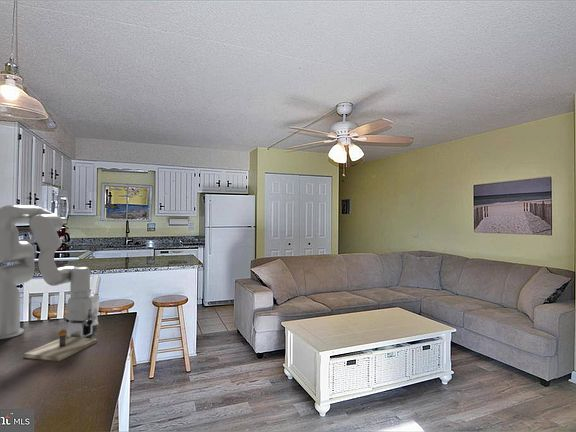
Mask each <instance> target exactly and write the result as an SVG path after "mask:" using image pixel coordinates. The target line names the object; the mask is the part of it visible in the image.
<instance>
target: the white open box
mask: <svg viewBox="0 0 576 432" xmlns="http://www.w3.org/2000/svg"><path fill="white" fill-rule="evenodd" d="M87 322H88V320H87ZM84 326H85V324H84V321H70V322H66V336H67V337H80V338H87V337H90V336H91V335H93V334H94V331H93V329H94V328H93V327H94V326H93V323H92V324H91V333H90V334H87V335H84Z"/></svg>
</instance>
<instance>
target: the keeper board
mask: <svg viewBox="0 0 576 432" xmlns="http://www.w3.org/2000/svg"><path fill="white" fill-rule="evenodd" d="M58 336H59V338H58V339H55V340H52V341H50V342H48V343H46V344H44V345H42V346H39V347H36V348H33V349H32V350H29V351H27V352H25V353H23V358H24V359H25V358H26V359H35V360H36V359H37V360H46V361H55V362H60V361H62V360H64V359H66V358H69V357H70V356H72V355H75V354H76V353H78V352H80V351H83V350H84V349H86V348H89V347H91V346H92V345H95V344H97V342H98V338H91V337H90V338H89V337H88V338H87V337H85V338H80V337H67V330H65V329H61V330H59V331H58Z"/></svg>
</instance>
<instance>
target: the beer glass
mask: <svg viewBox="0 0 576 432" xmlns="http://www.w3.org/2000/svg"><path fill="white" fill-rule="evenodd" d="M90 297H91V301H92V313H93V314H94V315H95V316H96V317H97V318H96V319H95V320H94V322H93V327H95V326H98V325H99V321H98V320H99V319H98V315H99V309H100V294H99V293H90ZM90 319H91V318H90Z"/></svg>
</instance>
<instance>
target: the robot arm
mask: <svg viewBox="0 0 576 432" xmlns="http://www.w3.org/2000/svg"><path fill="white" fill-rule="evenodd" d="M16 224H28V225H29V228H30V230H31V232H32V235H33V237H34V238H35V241H36V244H37V246H38V248H39V250H40V251H39V255H38V259H37V260H38V261H37V264H38V265H37V266H38V270H39V272H40V274H41V276H42V279H43V280H44V282H45V283H46V284H47V285H49V286H52V287H53V286H54V287H55V286H56V287H57V286H59V285H62V284H68V283H70V286H69V287H70V288H69V290H70V291H69V293H68V294H69V298H68V300H67V306H66V312H65V313H64V315H63V317H64V319H65V321H66V323H68V322H70V321H84V324H85V326H84V335H87V334H90V333H91V324H92V323H93V322H94V320H95V319H96V318H97V319H98V316H97V317H96V316H95V315H94V314H93V313H92V301H91V297H90V294H91V292H90V291H91V290H90V289H91V286H90V285H91V270H90V269H91V268H89V267H88V266H74V265H66V266H60V267H57V265H56V262H55V253H56V252H57V250H58V249H59V248H60V247H61V246H62V244H63V243H62V240H61V239H60V236H59V233H58V231H61V230H62V228H63V225H64V222H63V220H62V218H61V217H60V216H59V215H58V214H56V213H54V212H52V211H50V210H46V209H45V208H43V207H39V206H36V205H30V204H28V205H27V204H7V205H4V206H1V207H0V263H2V264H7V263H8V264H7V265H3V266H0V340H4V339H5V340H6V339H10V338H14V337H18V336H21V335H23V334H24V332H25V329H24V328H22V327H21V294H20V291H19V289H18V287H17V285H20V284H24V283H27V282H29V281H31V280H32V279H33V277H34V274H35V249H34V246H33V245H32V244H31V242H28V241H26V240H20V233H19V229H18V228H17V225H16ZM9 263H13V264H9ZM90 318H91V319H90ZM87 320H88V322H87Z"/></svg>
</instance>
